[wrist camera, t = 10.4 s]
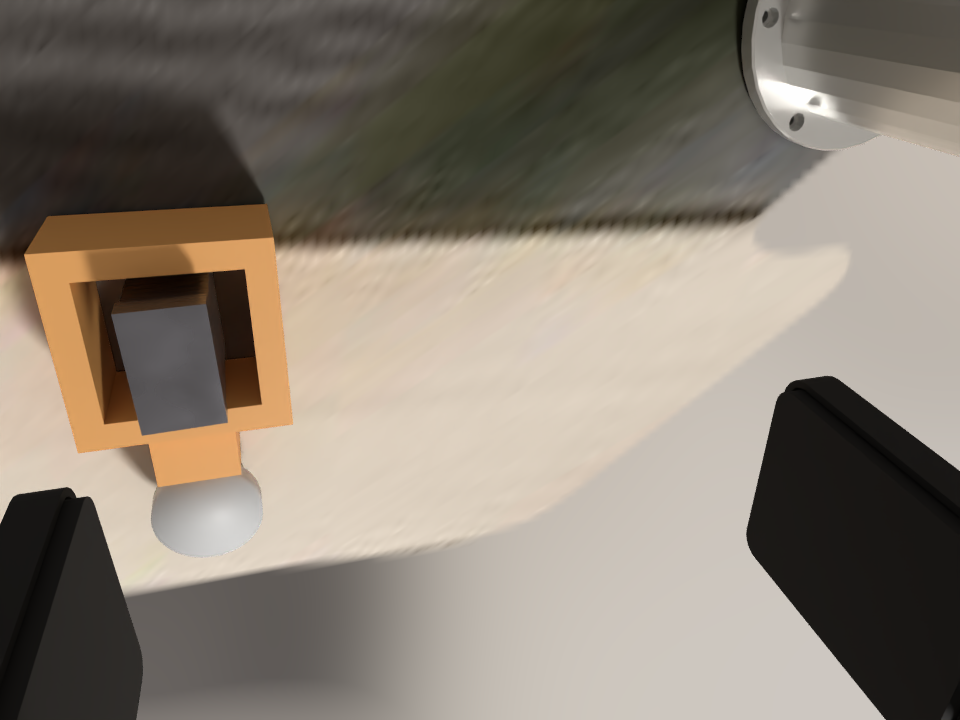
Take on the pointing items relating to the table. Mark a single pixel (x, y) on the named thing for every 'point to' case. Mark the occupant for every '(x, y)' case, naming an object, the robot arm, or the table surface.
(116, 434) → the orange handled frame
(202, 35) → the table surface
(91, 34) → the table surface
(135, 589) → the table surface
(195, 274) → the grey rectangular block
